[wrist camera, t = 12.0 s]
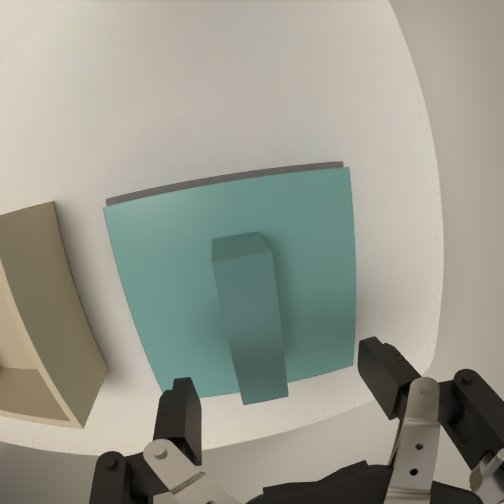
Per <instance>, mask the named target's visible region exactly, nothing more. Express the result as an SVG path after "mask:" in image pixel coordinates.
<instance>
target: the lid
mask: <svg viewBox="0 0 504 504" xmlns="http://www.w3.org/2000/svg"><path fill="white" fill-rule="evenodd" d="M103 211H104V216H105V220H106V225H107V229H108V234H109V238H110V242H111V246H112V250H113V254H114V258H115V262H116V265H117V269H118V273H119V276H120V280H121V283H122V286H123V290H124V293H125V296H126V299H127V302H128V305H129V308H130V311H131V314H132V317H133V320H134V323H135V326H136V329H137V332H138V334H139V337H140V340H141V342H142V345H143V348H144V350H145V353H146V355H147V358H148V360H149V363H150V365H151V368H152V370H153V372H154V375H155V377H156V379H157V382H158V384H159V386H160V388H161V391H162V393H164V391H165V390H172V388H173V381H174V379H175V378H183V377H191V379H192V381H193V384H194V387H195V389H196V392H197V394H198V397H199V398H203V397H211V396H219V395H226V394H232V393H238V392H240V393H241V397H242V401H243V405H247V404H253V403H258V402H264V401H269V400H274V399H278V398H283V397H287V396H288V386H287V383H289V382H293V381H298V380H302V379H306V378H310V377H314V376H317V375H321V374H325V373H328V372H332V371H335V370H339V369H342V368H346V367H349V366H352V365H353V357H354V339H355V307H356V271H355V239H354V221H353V206H352V194H351V183H350V173H349V167H341V168H330V169H319V170H310V171H301V172H292V173H284V174H276V175H268V176H261V177H254V178H247V179H240V180H234V181H227V182H221V183H215V184H210V185H204V186H198V187H193V188H188V189H182V190H177V191H172V192H167V193H162V194H157V195H153V196H148V197H144V198H139V199H135V200H130V201H126V202H122V203H118V204H113V205H109V206H106V207H103Z"/></svg>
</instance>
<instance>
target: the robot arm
mask: <svg viewBox="0 0 504 504" xmlns="http://www.w3.org/2000/svg"><path fill="white" fill-rule="evenodd" d="M358 371H359V374H360V376H361V377H362V379H363V380H364V382H365V383H366V385H367V386H368V388H369V389H370V391H371V392H372V394H373V396H374V397H375V399H376V400H377V402H378V403H379V405H380V406H381V408H382V409H383V411H384V412H385V414H386V416H387V417H388V419H389V420H392V419H394V418H397V417H398V418H399V420H400V422H399V425H398V430H397V434H396V438H395V442H394V446H393V450H392V453H391V456H390V460H389V462H388V465H368V464H367V462H366V461H365V460H363V461H361V462H358V463H355V464H353V465H350V466H347V467H344V468H341V469H340V470H338V471H336V472H334V473H332V474H331V475H329V476H327V477H325V478H323V479H321V480H319V481H316V482H297V483H285V484H280V485H275V486H270V487H264V488H263V492H264V494H261V495H259V496H257V497H255V498H253V499H251V500H250V501H248V502H247V503H246V504H499V503H502V502H504V401H503V400H502V399H501V398H500V397H499V396H498V395H497V394H496V393H495V391H494V390H493V389H491V387H490V386H489V385H488V384H487V383H486V382H485V381H484V380H483V379H482V378H481V376H480V375H479V374H478V373H477V372H475V371H473V370H470V369H463V370H460V371H458V372H457V373H456V374H455V376H454V379H453V380H450V381H445V382H439V383H437V382H436V381H435V380H434V379H432V378H429V377H421V376H420V374H419V373H418V372H417V371H416V370H415V369H414V368H413V367H412V365H411V364H410V363H409V362H408V361H407V360H405V358H404V357H403V356H402V355H401V353H400V352H399V351H398V350H397V349H396V348H395V347H394V346H392V345H390V344H388V343H384V344H382V343H381V342H380V341H379V340H378V339H377V338H376V337H375V336H373V337H370V338H367V339H364V340H361V341H360V342H359V352H358ZM158 407H159V408H158V412H157V417H156V424H155V430H154V436H153V441H152V442H150V443H149V444H148V445H147V446H146V447H145V449H144V451H143V452H141V453H138V454H134V455H130V456H126V457H124V456H123V455H122V454H121V453H119V452H115V451H110V452H106V453H104V454H102V455H101V456H100V457H99V458H98V460H97V462H96V467H95V472H94V477H93V483H92V489H91V495H90V502H89V504H153V496H154V495H157V494H161V493H165V492H169V491H171V493H172V494H173V495H174V496H175V497H176V498H177V499H178V501H179V502H180V503H181V504H241V503H240V502H238V501H237V500H236V499H235V498H234V497H232V496H231V495H230V494H229V493H227V492H226V491H225V490H224V489H223V488H222V487H221V486H219V485H218V484H217V483H216V482H215V481H213V479H211V478H210V477H209V476H208V475H207V474H206V473H204V472H201V471H200V470H199V469H198V468H197V467H196V466H201V465H202V462H201V461H202V459H201V458H202V455H201V412H202V411H201V403H200V399H199V397H198V394H197V392H196V389H195V387H194V384H193V381H192V379H191V377H183V378H175V379H174V381H173V388H172V390H165V391H164V393H163V394H162V396H161V397H160V400H159V406H158ZM440 425H442V426H443V428H444V429H445V431H446V432H447V434H448V435H449V437H450V438H451V440H452V441H453V443H454V444H455V446H456V447H457V449H458V450H459V452H460V453H461V455H462V457H463V458H464V460H465V461H466V463H467V465H468V466H469V468H470V469H471V471H472V472H471V474H470V478H469V481H470V488H471V490H472V491H469V490H465V489H462V488H457V487H454V486H450V485H447V484H443V483H440V482H436V481H433V475H434V469H435V463H436V457H437V451H438V443H439V435H440Z"/></svg>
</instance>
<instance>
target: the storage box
mask: <svg viewBox="0 0 504 504" xmlns="http://www.w3.org/2000/svg"><path fill="white" fill-rule="evenodd" d="M107 371H108V367H107V365H106V363H105V361H104V359H103V357H102V355H101V352H100V350H99V348H98V346H97V343H96V341H95V339H94V336H93V334H92V331H91V329H90V326H89V324H88V321H87V319H86V316H85V313H84V311H83V308H82V305H81V302H80V300H79V297H78V294H77V291H76V288H75V285H74V282H73V278H72V275H71V272H70V269H69V265H68V262H67V258H66V254H65V251H64V247H63V243H62V239H61V235H60V231H59V226H58V222H57V217H56V212H55V207H54V202H53V201H52V202H48V203H44V204H40V205H36V206H32V207H28V208H24V209H21V210H17V211H14V212H10V213H7V214H3V215H0V415H3V416H7V417H11V418H15V419H20V420H25V421H30V422H35V423H41V424H47V425H54V426H61V427H70V428H79V429H84V426H85V424H86V421H87V419H88V416H89V414H90V411H91V409H92V406H93V404H94V401H95V399H96V397H97V394H98V392H99V389H100V387H101V385H102V382H103V380H104V378H105V376H106V373H107Z"/></svg>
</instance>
